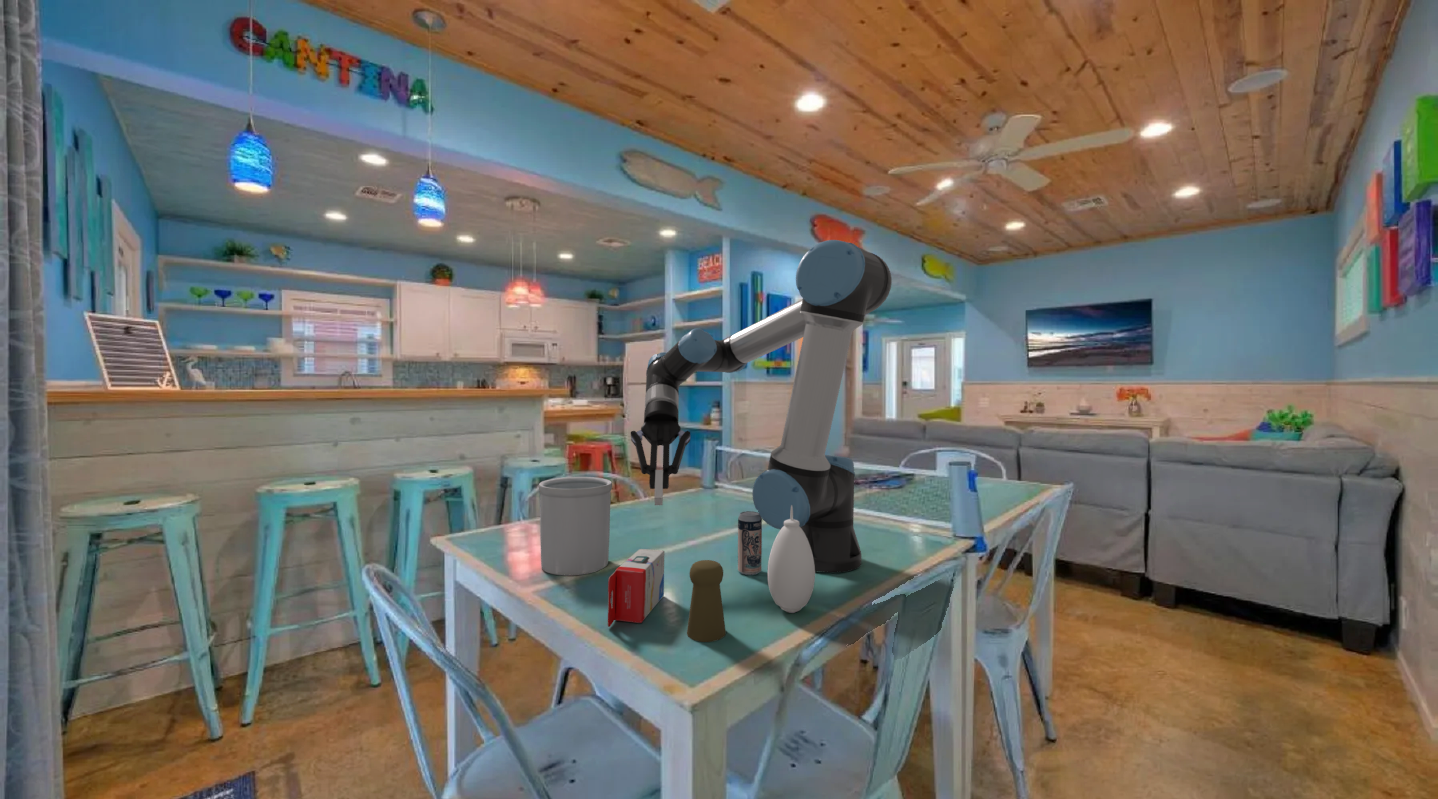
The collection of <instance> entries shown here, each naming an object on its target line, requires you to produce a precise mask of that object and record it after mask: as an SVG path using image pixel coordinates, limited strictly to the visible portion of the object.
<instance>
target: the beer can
mask: <svg viewBox="0 0 1438 799" xmlns="http://www.w3.org/2000/svg"><path fill="white" fill-rule="evenodd" d="M762 522H763V519H762V518H761V516H760V515H759V512H757V511H755V510H754V511H751V510H747V511H742V512H740V513H739V515H738V518H737V570H738V572H739V573H740V574H742V575H745V576H755V575H758V574H759V573H761V572H762V564H763V563H762V557H763V556H762V552H763V550H762V549H763V548H762V545H763V544H762V542H763V541H762V538H763V537H762V533H763V532H762V531H763V529H762V527H763V523H762Z"/></svg>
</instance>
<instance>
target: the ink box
mask: <svg viewBox="0 0 1438 799" xmlns="http://www.w3.org/2000/svg"><path fill="white" fill-rule="evenodd" d="M607 581H608V582H607V628H608V627H609V628H610V627H611V626H612V624H613V623H614V622H615V621H617V622H627V623H637V624H642V623H643V622H644V620H645V619H646V618H647V616H649V614H650V613H651V611H653V609H654V608H655V607H656V606H657V604H658V603H659V602H660V601H661V599H662V598H663V597H664V595H665V550H661V549H645V548H639V549H637V551H636V552H634V553H633V554H632V555H631V556H629V558H628V559H626V560H625V561H624V562H623V563H622V564H621V565H620V566H618V567H617V568H615V571H614V572H613V573H611V575H610V576H609V577H608V579H607Z"/></svg>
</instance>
